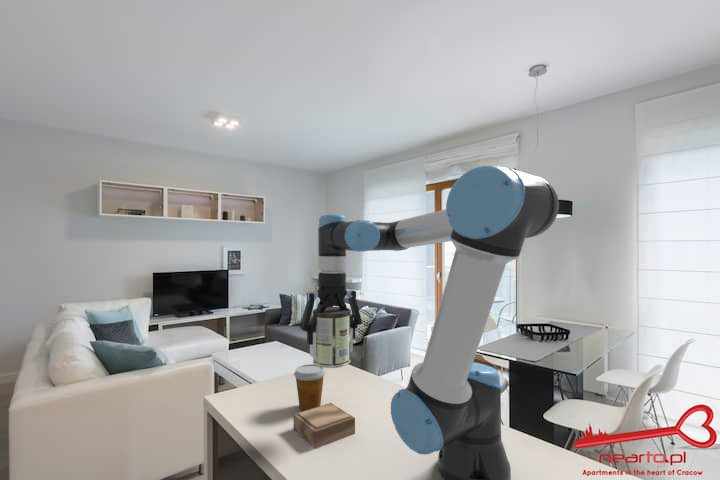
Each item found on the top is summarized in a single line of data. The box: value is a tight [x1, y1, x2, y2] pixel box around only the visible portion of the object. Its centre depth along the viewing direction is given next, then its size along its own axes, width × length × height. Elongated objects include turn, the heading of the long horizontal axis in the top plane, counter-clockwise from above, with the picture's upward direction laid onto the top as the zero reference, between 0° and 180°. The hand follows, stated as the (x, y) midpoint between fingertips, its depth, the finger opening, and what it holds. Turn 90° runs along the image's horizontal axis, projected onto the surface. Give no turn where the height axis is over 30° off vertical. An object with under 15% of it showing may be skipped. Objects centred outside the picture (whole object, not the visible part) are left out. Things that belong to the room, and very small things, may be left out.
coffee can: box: [312, 306, 352, 369], centre depth 98 cm, size 10×10×14 cm
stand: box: [292, 402, 356, 449], centre depth 97 cm, size 12×12×4 cm
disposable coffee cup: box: [293, 363, 326, 412], centre depth 111 cm, size 10×10×12 cm
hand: (331, 353), depth 98 cm, fingers closed on coffee can, 10 cm apart
